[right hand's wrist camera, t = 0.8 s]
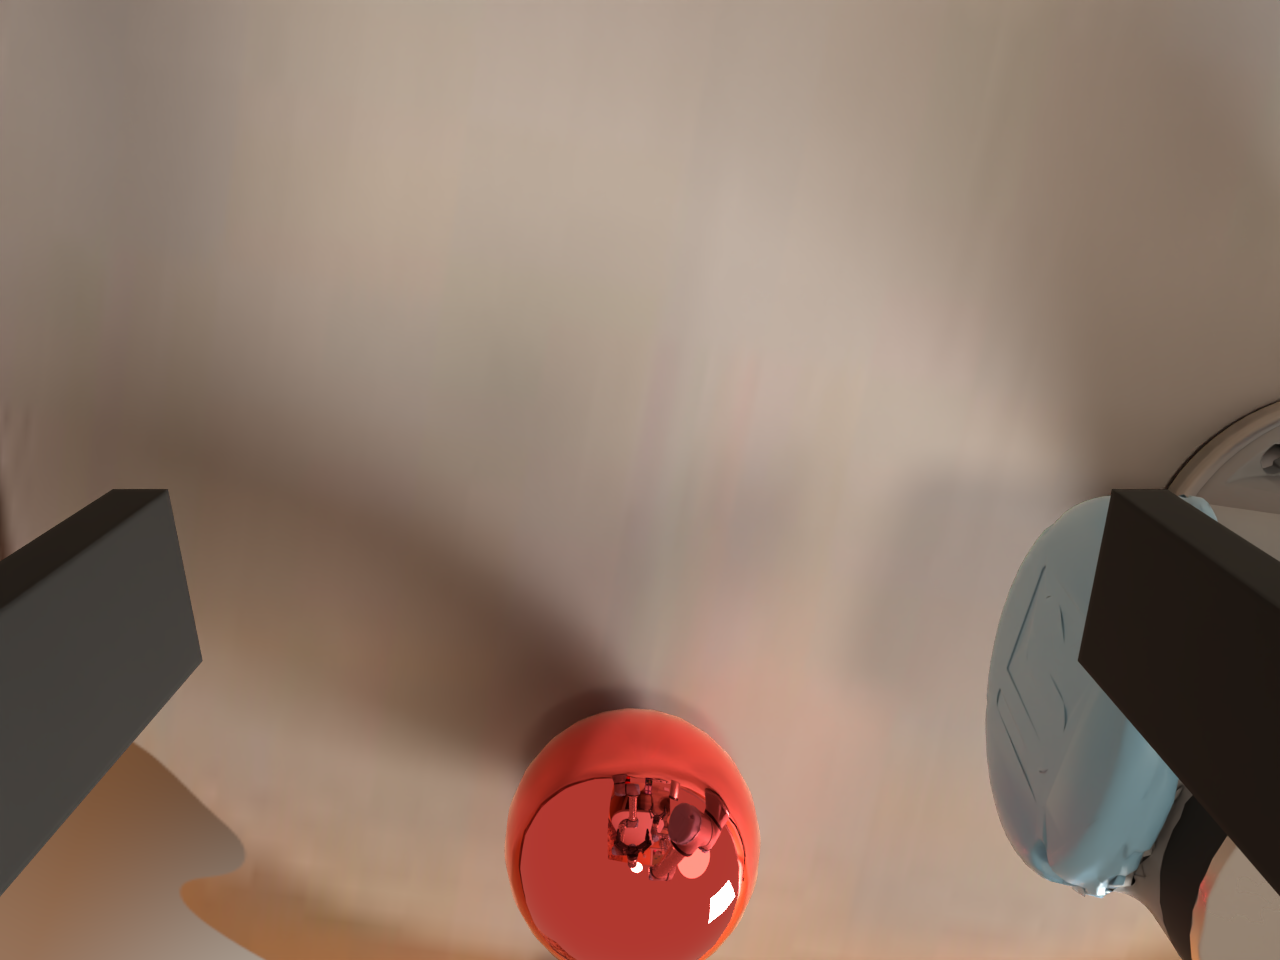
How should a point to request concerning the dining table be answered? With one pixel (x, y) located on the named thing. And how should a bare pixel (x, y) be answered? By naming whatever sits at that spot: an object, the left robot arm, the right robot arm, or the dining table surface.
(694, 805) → the ball
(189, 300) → the dining table surface
